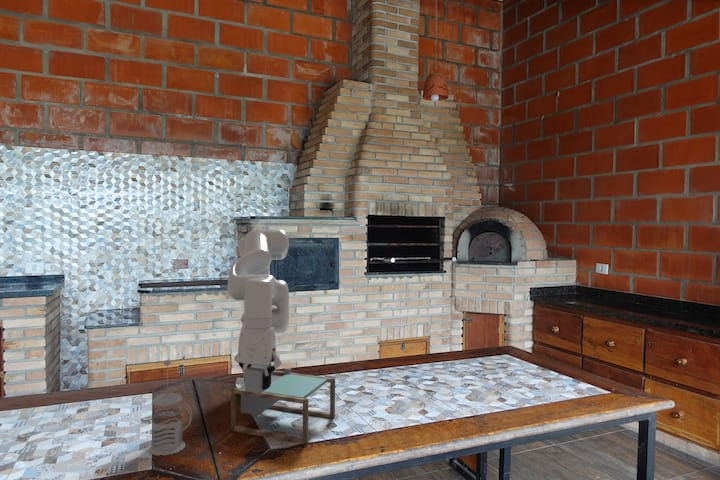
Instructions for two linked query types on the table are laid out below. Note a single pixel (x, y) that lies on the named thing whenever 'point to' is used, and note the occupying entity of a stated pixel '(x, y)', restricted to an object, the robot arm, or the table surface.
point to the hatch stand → (285, 408)
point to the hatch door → (281, 391)
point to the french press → (174, 439)
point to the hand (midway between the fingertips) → (257, 386)
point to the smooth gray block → (254, 379)
